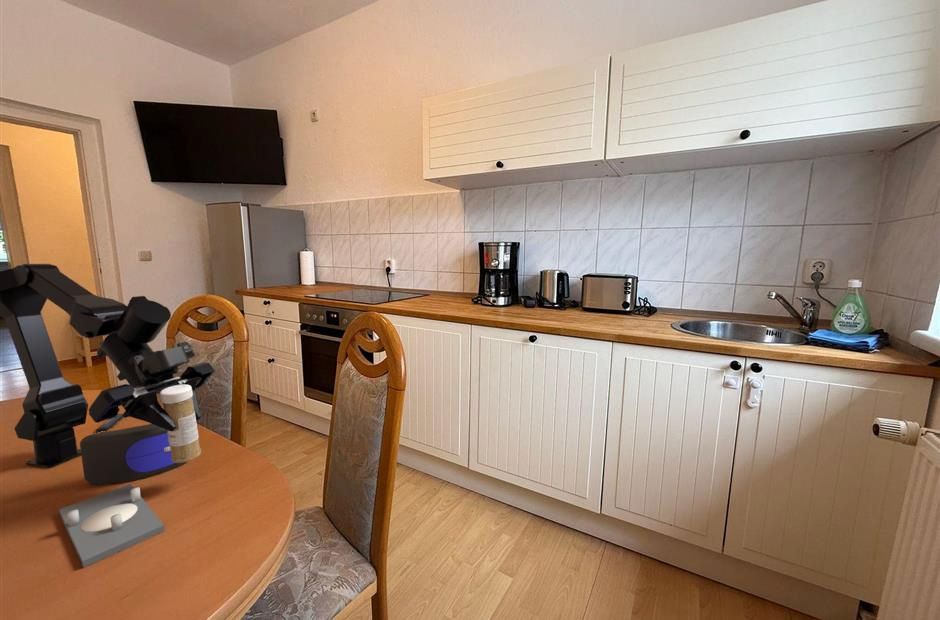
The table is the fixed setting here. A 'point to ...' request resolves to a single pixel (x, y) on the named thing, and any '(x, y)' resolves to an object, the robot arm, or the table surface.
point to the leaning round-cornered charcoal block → (126, 454)
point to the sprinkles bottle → (181, 422)
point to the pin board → (109, 523)
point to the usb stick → (109, 423)
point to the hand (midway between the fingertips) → (186, 424)
